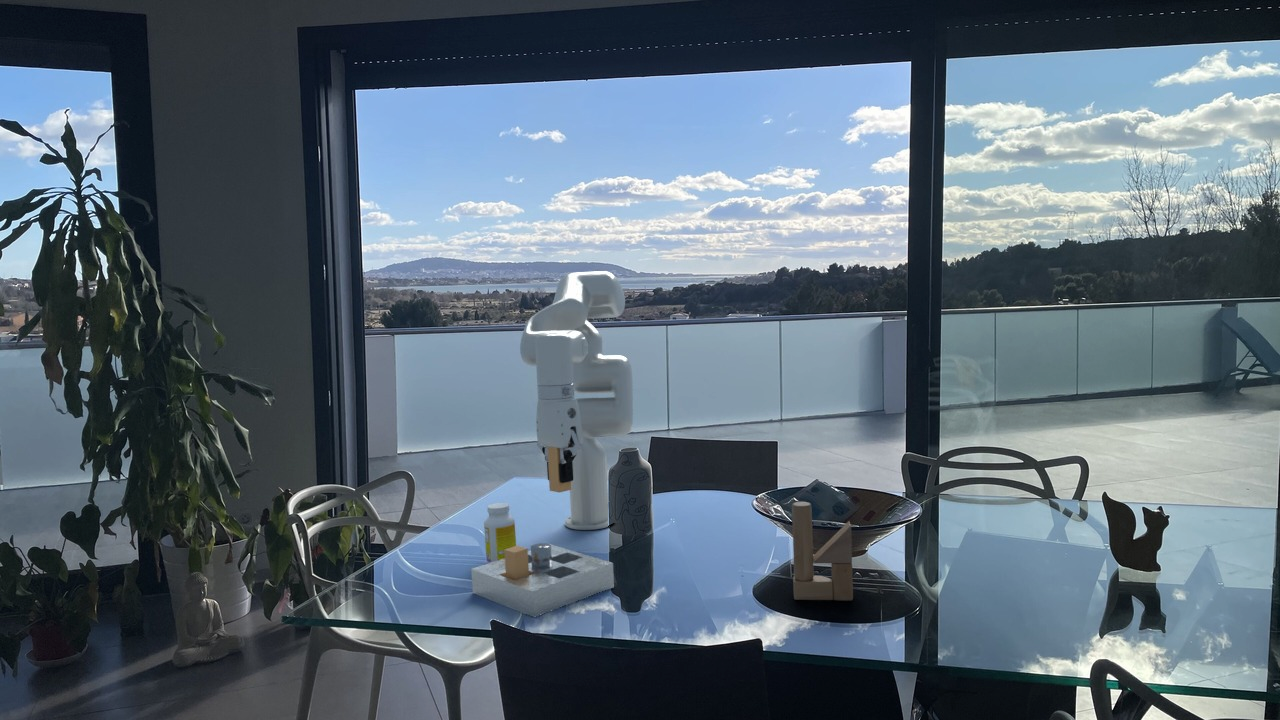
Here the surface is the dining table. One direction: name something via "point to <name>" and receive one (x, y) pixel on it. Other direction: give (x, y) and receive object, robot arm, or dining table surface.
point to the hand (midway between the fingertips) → (560, 479)
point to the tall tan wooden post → (516, 562)
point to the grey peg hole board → (544, 580)
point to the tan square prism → (556, 471)
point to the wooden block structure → (820, 560)
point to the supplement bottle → (498, 531)
